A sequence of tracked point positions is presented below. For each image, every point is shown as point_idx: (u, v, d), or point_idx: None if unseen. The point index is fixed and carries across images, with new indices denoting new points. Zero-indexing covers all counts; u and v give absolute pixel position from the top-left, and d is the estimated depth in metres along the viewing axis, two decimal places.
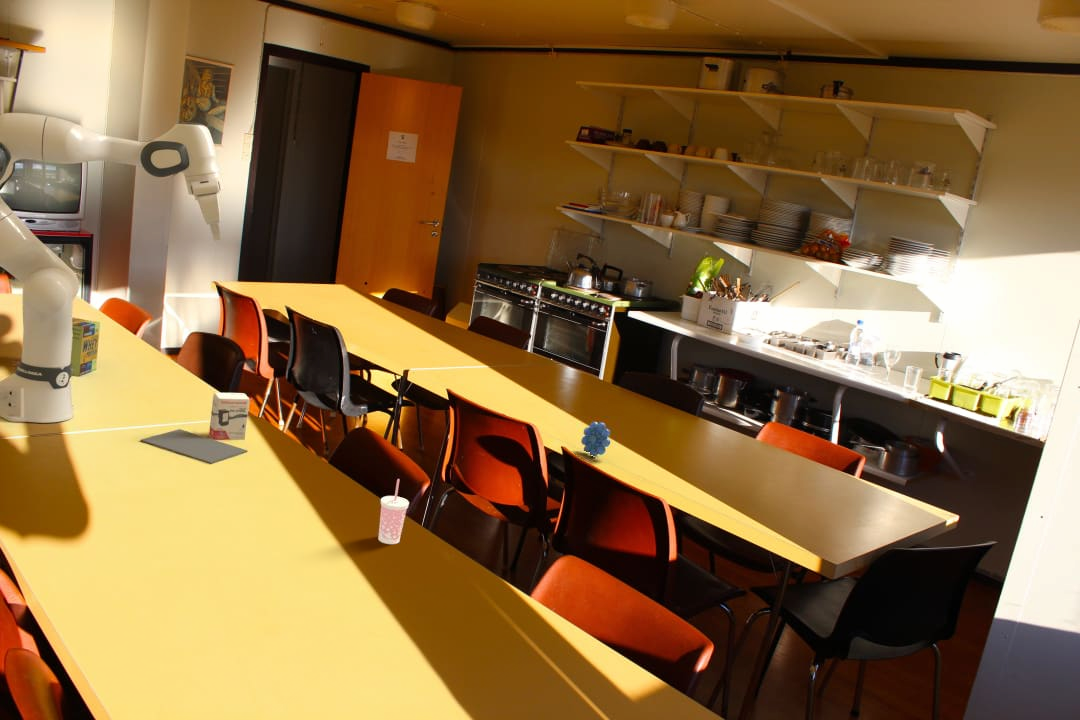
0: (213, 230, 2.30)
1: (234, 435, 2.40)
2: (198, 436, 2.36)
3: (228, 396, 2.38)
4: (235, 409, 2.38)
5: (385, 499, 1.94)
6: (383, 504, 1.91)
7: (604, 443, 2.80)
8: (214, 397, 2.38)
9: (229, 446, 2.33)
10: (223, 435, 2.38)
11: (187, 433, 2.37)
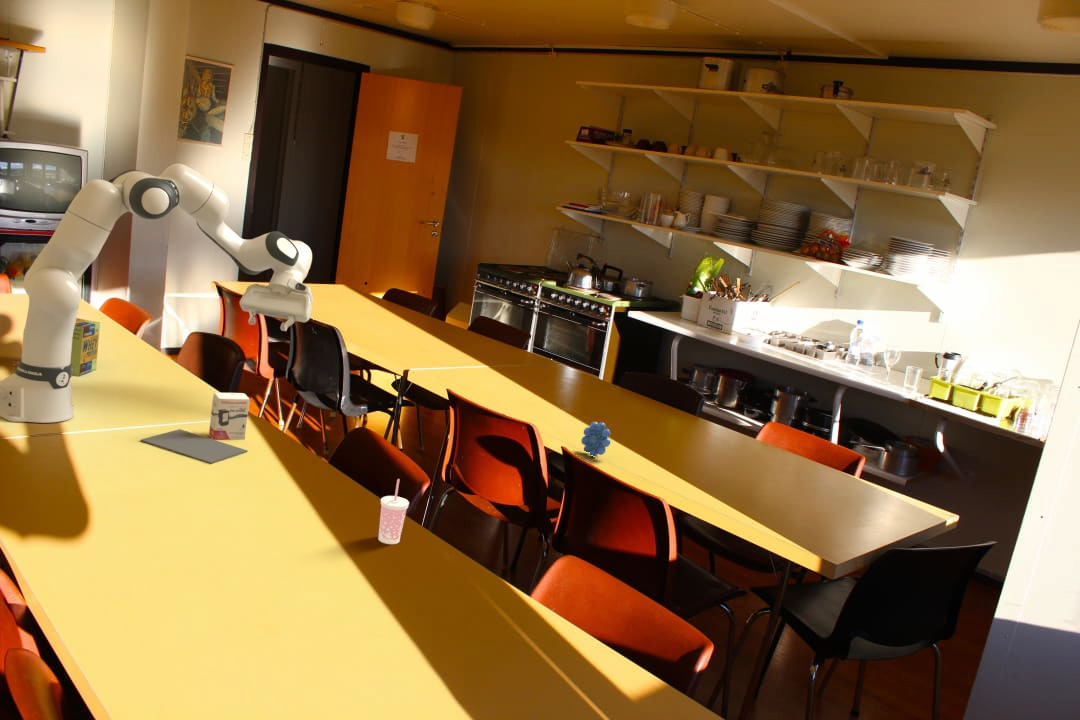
0: (290, 321, 2.55)
1: (234, 435, 2.40)
2: (198, 436, 2.36)
3: (228, 396, 2.38)
4: (235, 409, 2.38)
5: (385, 499, 1.94)
6: (383, 504, 1.91)
7: (604, 443, 2.80)
8: (214, 397, 2.38)
9: (229, 446, 2.33)
10: (223, 435, 2.38)
11: (187, 433, 2.37)
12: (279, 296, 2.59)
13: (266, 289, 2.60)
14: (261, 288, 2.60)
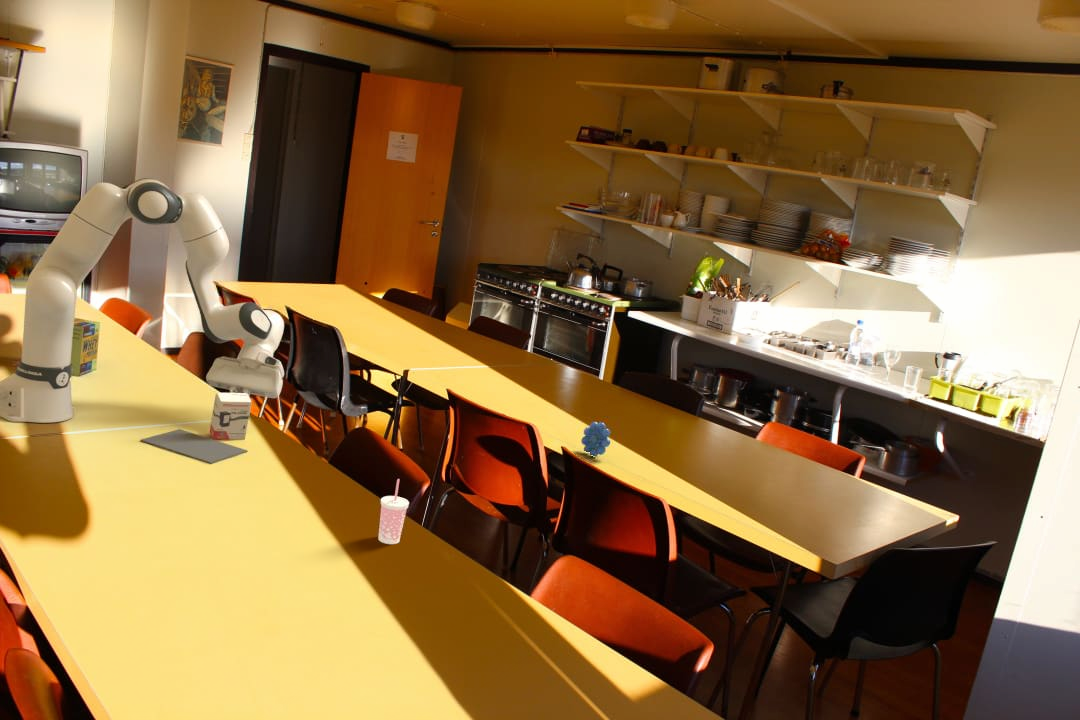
0: None
1: (234, 435, 2.40)
2: (198, 436, 2.36)
3: (230, 398, 2.36)
4: (236, 411, 2.37)
5: (385, 499, 1.94)
6: (383, 504, 1.91)
7: (604, 443, 2.80)
8: (216, 398, 2.36)
9: (229, 446, 2.33)
10: (223, 436, 2.38)
11: (187, 433, 2.37)
12: (248, 370, 2.47)
13: (234, 363, 2.48)
14: (229, 361, 2.48)
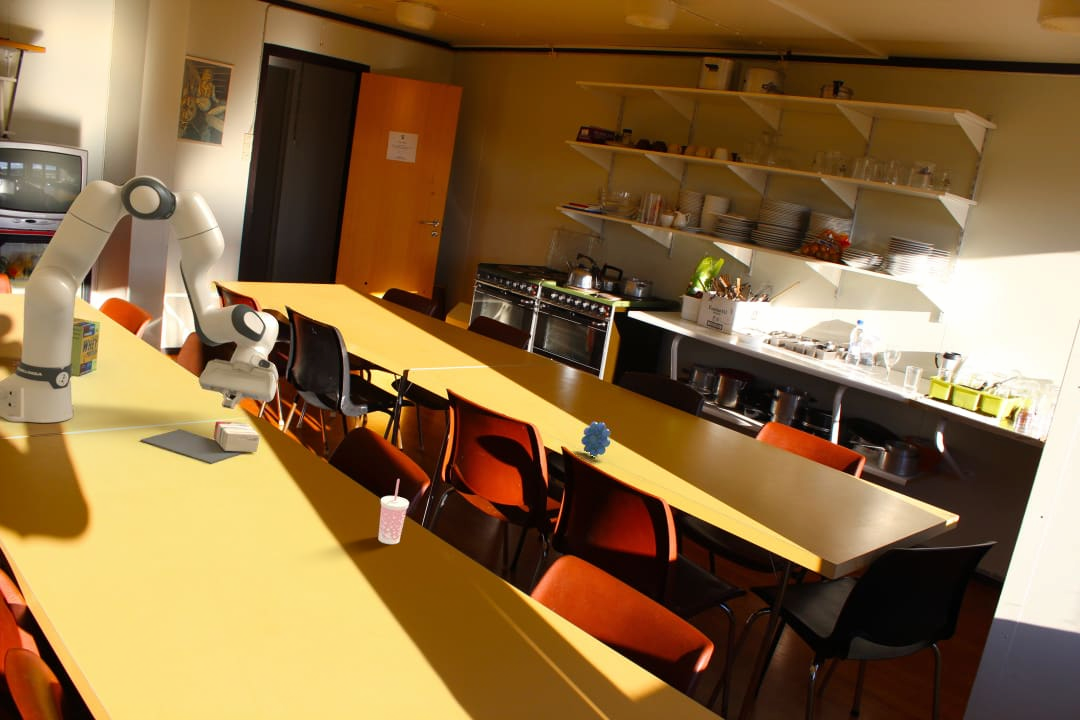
0: (238, 398, 2.39)
1: None
2: (198, 436, 2.36)
3: (237, 444, 2.29)
4: None
5: (385, 499, 1.94)
6: (383, 504, 1.91)
7: (604, 443, 2.80)
8: (225, 437, 2.28)
9: None
10: None
11: (187, 433, 2.37)
12: (241, 373, 2.42)
13: (227, 366, 2.43)
14: (222, 364, 2.43)
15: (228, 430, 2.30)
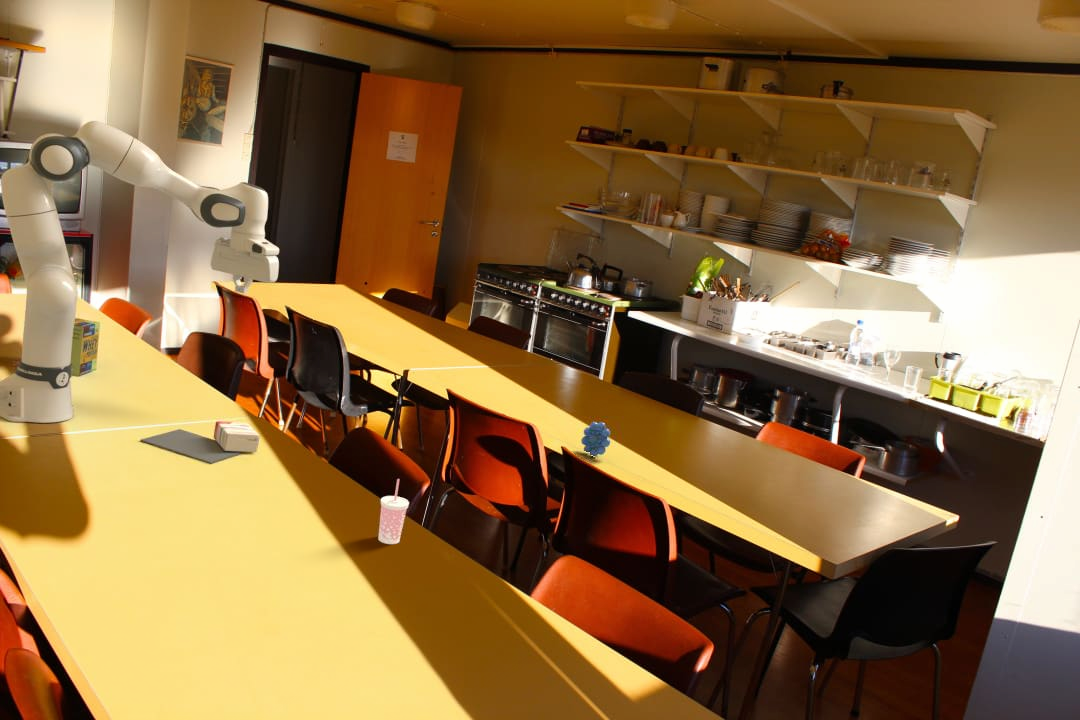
0: (247, 284, 2.47)
1: None
2: (198, 436, 2.36)
3: (237, 444, 2.29)
4: None
5: (385, 499, 1.94)
6: (383, 504, 1.91)
7: (604, 443, 2.80)
8: (225, 437, 2.28)
9: None
10: None
11: (187, 433, 2.37)
12: (242, 257, 2.45)
13: (229, 249, 2.46)
14: (225, 248, 2.47)
15: (228, 430, 2.30)
